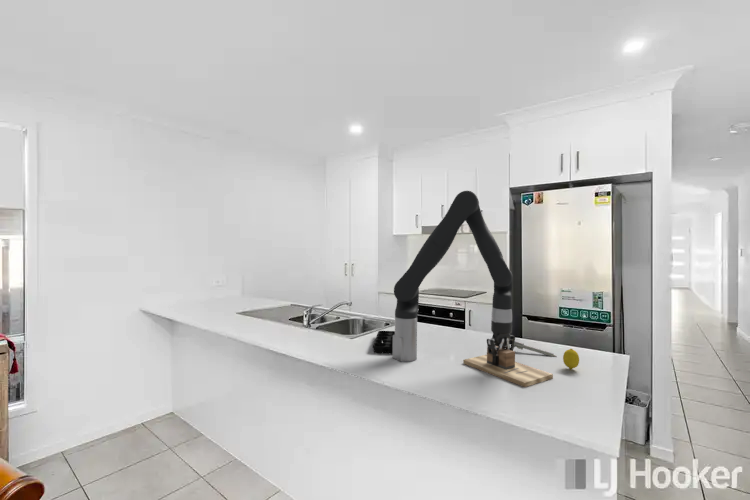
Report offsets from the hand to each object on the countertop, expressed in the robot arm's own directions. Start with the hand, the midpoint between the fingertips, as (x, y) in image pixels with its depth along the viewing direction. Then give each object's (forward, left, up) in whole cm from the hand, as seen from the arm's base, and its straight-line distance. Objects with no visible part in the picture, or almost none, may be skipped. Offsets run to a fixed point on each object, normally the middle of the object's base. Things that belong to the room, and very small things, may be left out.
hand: (500, 363), depth 142 cm
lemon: (+23, -14, -2) cm, 27 cm away
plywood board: (0, -2, -2) cm, 3 cm away
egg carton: (-18, +49, -3) cm, 52 cm away
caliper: (+29, +7, -2) cm, 29 cm away
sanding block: (0, 0, 0) cm, 0 cm away
